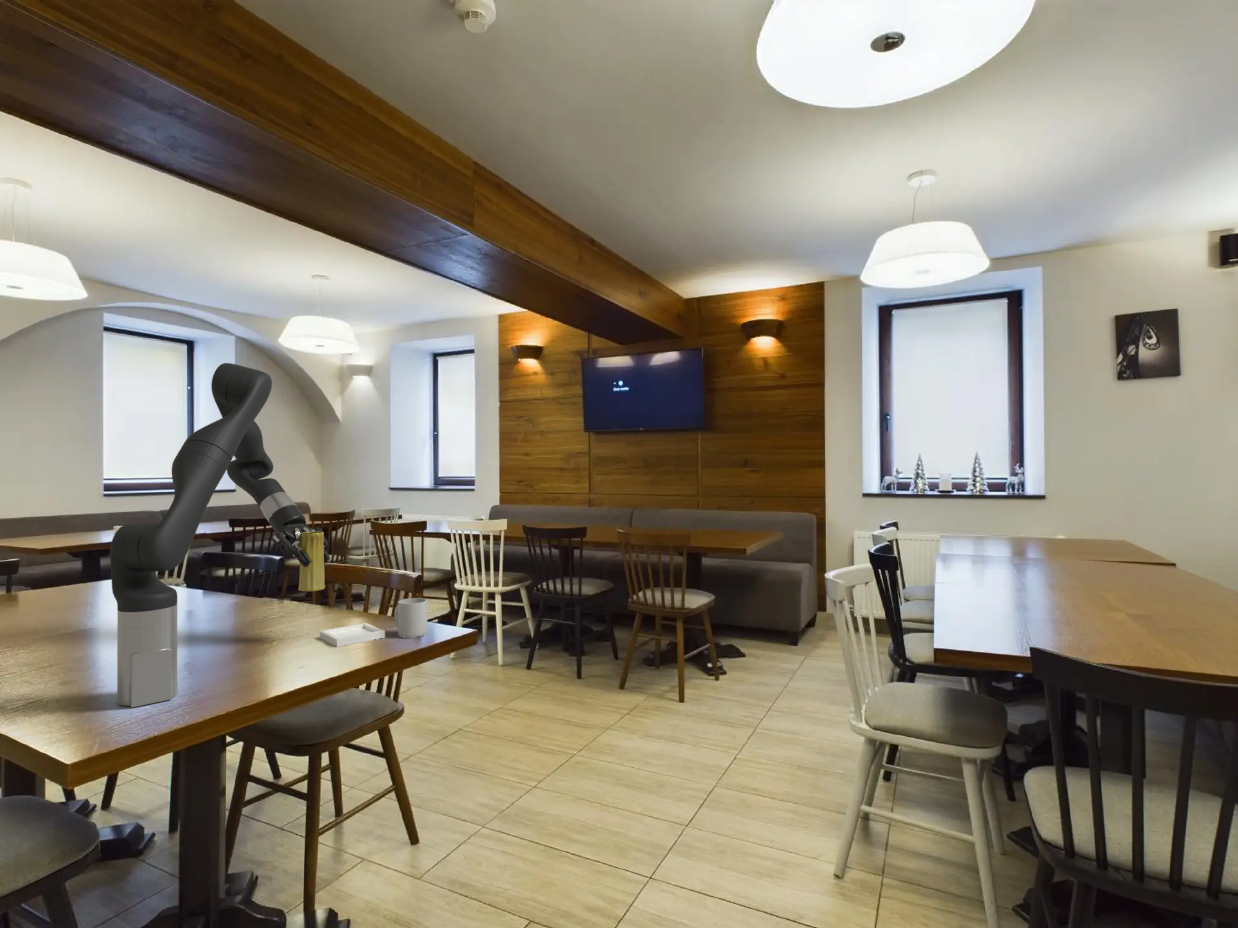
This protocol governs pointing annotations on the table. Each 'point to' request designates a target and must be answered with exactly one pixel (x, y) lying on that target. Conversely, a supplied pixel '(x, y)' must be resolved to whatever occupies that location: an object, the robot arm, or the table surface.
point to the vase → (312, 562)
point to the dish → (351, 634)
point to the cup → (411, 617)
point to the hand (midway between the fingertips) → (317, 562)
